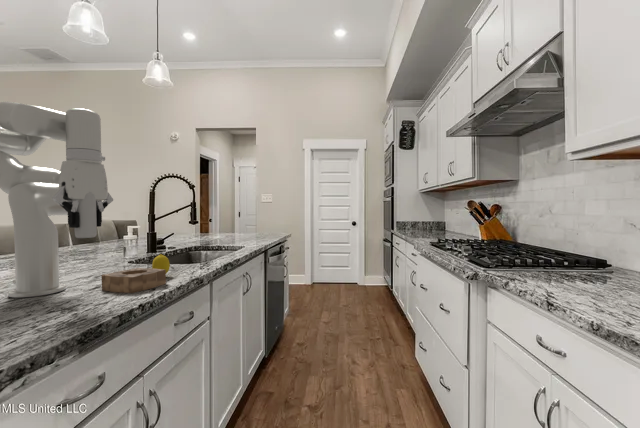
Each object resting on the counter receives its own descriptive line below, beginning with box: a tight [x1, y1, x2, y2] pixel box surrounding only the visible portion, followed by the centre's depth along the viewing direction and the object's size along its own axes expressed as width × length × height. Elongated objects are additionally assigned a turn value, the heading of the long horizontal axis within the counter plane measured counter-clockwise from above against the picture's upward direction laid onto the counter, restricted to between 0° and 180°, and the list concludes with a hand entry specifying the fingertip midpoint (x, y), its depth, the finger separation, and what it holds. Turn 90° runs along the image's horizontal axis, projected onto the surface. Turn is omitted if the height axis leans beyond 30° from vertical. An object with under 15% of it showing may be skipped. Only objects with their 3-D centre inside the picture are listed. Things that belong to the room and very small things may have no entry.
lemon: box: [151, 253, 171, 274], centre depth 113 cm, size 6×6×8 cm
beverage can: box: [74, 192, 98, 239], centre depth 86 cm, size 5×5×12 cm
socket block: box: [101, 267, 167, 294], centre depth 99 cm, size 13×13×4 cm
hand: (85, 226), depth 86 cm, fingers closed on beverage can, 4 cm apart
